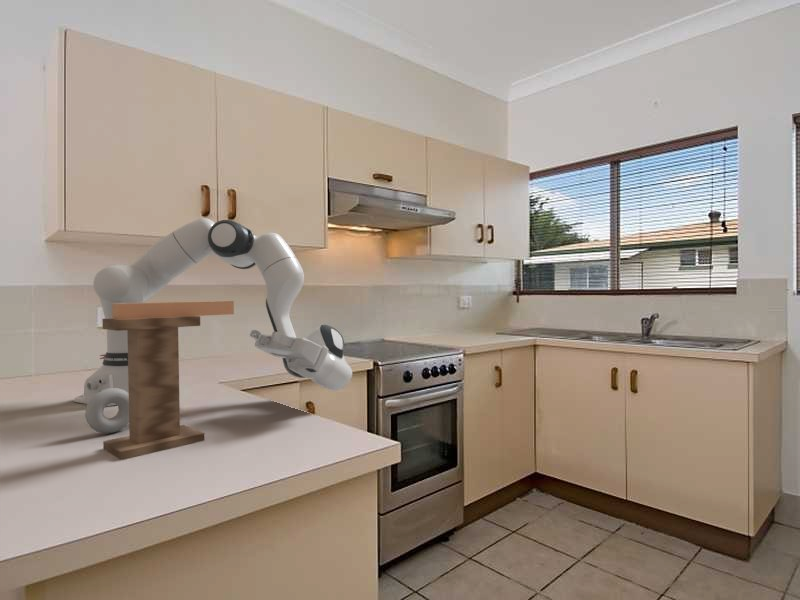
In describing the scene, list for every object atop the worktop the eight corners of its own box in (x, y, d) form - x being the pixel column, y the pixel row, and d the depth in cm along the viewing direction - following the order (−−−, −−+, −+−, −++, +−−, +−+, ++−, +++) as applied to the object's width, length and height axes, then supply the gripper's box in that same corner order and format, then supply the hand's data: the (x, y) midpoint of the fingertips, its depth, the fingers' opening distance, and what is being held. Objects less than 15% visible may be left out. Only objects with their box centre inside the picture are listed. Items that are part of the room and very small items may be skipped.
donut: (131, 426, 115) (131, 383, 114) (138, 429, 112) (137, 385, 112) (83, 436, 107) (82, 390, 107) (89, 439, 105) (88, 392, 105)
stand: (183, 431, 110) (181, 315, 110) (204, 440, 103) (202, 316, 103) (103, 448, 99) (100, 318, 98) (121, 459, 92) (118, 320, 91)
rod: (227, 313, 114) (227, 300, 114) (233, 314, 112) (233, 301, 112) (112, 318, 96) (112, 303, 96) (117, 319, 94) (117, 303, 94)
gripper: (285, 343, 136) (245, 320, 127) (333, 348, 122) (292, 323, 114) (275, 364, 134) (234, 342, 125) (323, 372, 120) (280, 348, 111)
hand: (262, 333), depth 119 cm, fingers open, 8 cm apart
